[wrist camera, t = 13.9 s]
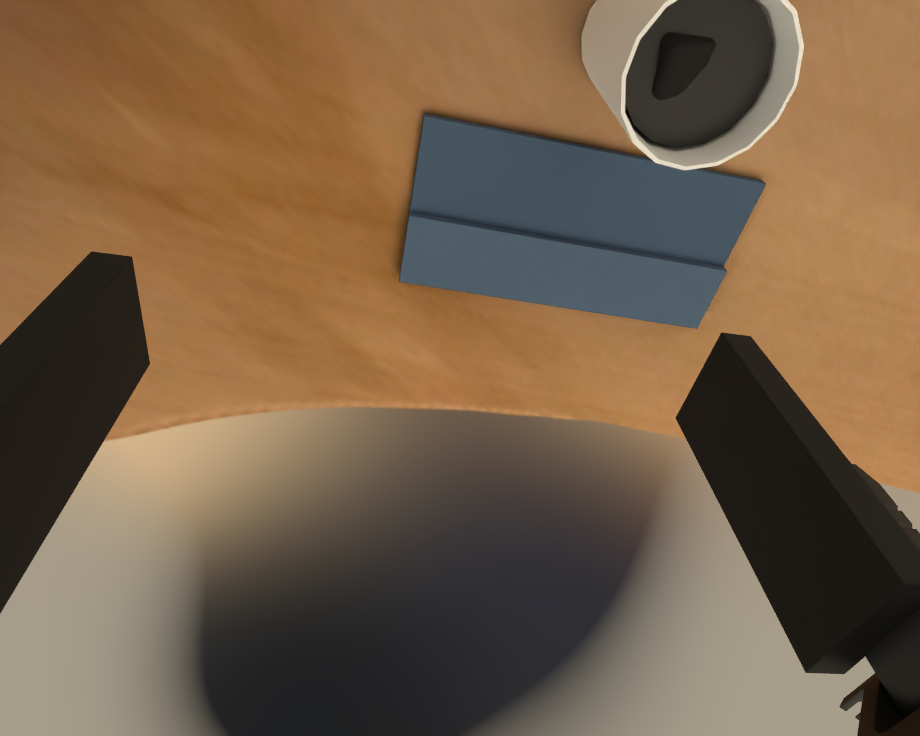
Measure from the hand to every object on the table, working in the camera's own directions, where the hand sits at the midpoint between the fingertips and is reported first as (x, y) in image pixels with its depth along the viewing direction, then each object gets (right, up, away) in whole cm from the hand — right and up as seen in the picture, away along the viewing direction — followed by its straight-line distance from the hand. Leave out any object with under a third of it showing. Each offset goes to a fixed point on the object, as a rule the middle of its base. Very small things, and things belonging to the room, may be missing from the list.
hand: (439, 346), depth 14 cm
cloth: (+7, +8, +22) cm, 25 cm away
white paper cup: (+9, +16, +16) cm, 25 cm away
